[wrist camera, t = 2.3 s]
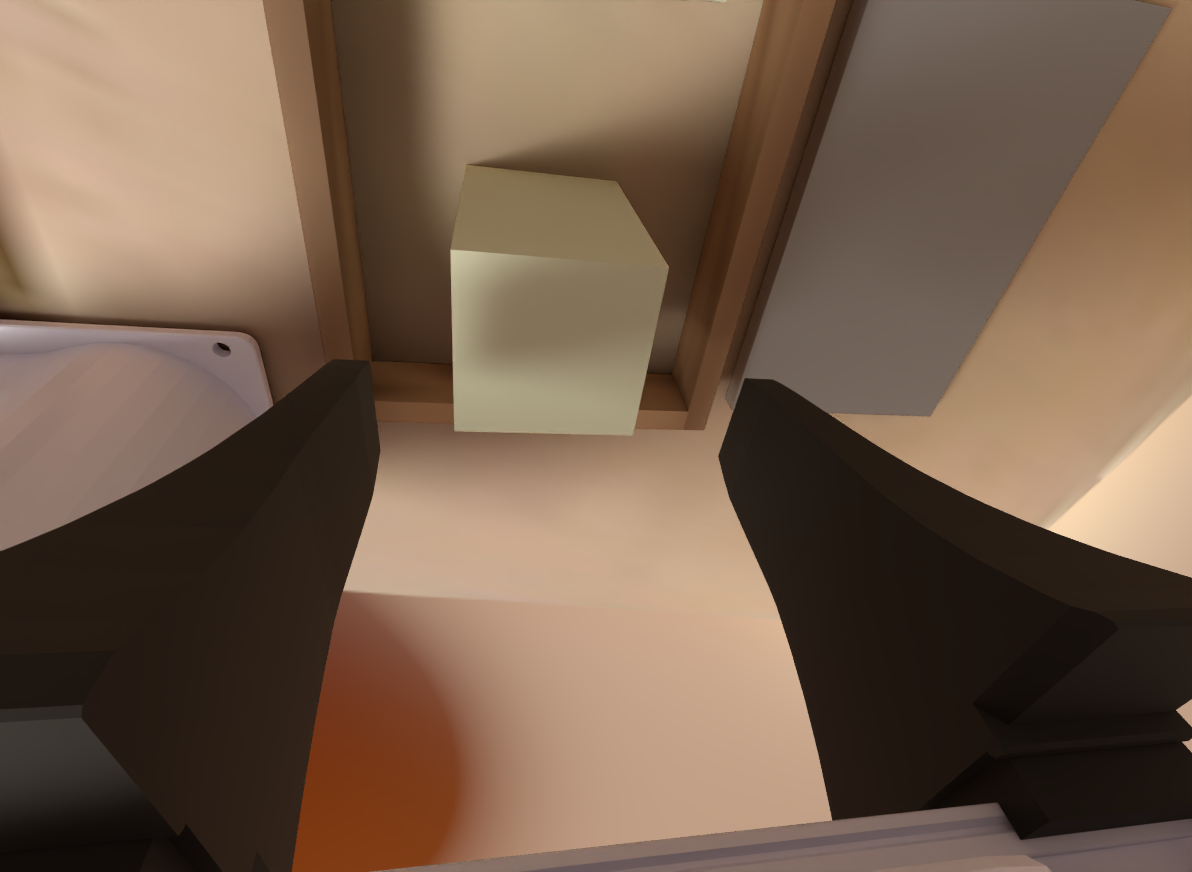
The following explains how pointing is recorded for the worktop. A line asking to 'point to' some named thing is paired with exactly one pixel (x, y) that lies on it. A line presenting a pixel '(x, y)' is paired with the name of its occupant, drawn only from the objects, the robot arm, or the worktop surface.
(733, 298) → the walnut tray
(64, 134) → the worktop surface
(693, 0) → the plain box
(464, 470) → the worktop surface
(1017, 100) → the slate board
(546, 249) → the olive beige rectangular block
